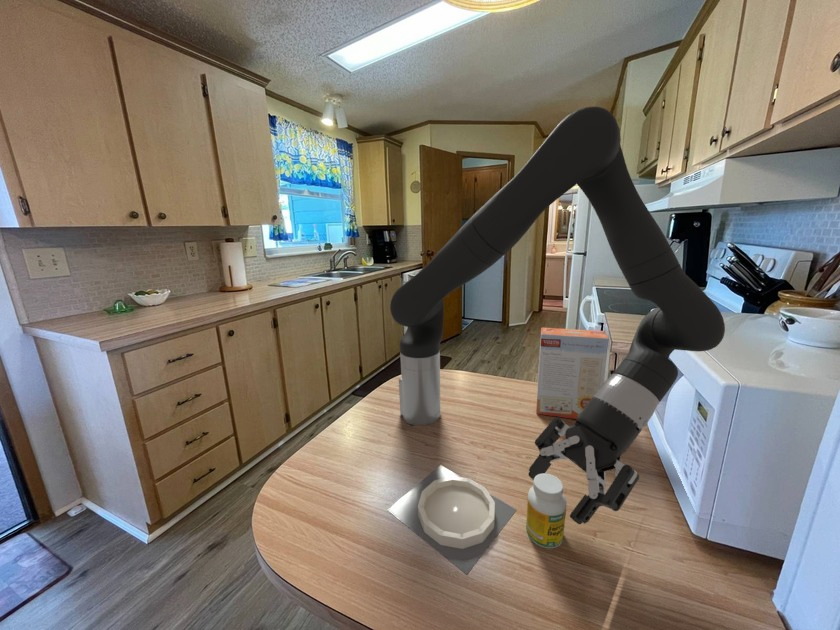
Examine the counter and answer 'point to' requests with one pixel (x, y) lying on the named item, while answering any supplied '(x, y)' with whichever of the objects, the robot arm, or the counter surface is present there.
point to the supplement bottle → (546, 511)
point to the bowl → (456, 512)
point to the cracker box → (569, 370)
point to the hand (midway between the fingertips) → (551, 498)
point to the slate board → (459, 557)
